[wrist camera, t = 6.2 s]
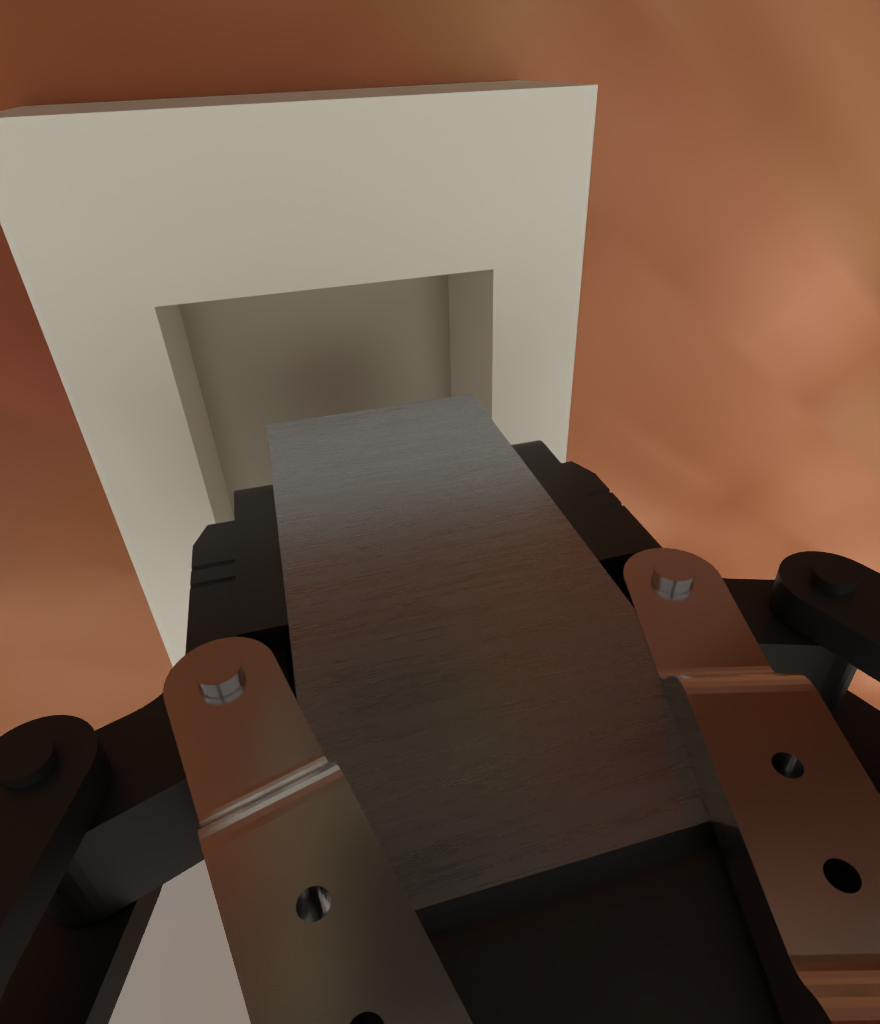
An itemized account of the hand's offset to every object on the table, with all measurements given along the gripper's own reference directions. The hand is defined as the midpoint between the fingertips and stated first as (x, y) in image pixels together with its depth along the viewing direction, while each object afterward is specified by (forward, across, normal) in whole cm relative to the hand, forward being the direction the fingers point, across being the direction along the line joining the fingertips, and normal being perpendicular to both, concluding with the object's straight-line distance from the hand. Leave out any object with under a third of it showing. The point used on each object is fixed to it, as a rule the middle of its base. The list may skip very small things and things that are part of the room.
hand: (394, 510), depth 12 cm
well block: (+10, 0, +2) cm, 10 cm away
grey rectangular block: (+2, 0, +2) cm, 3 cm away
